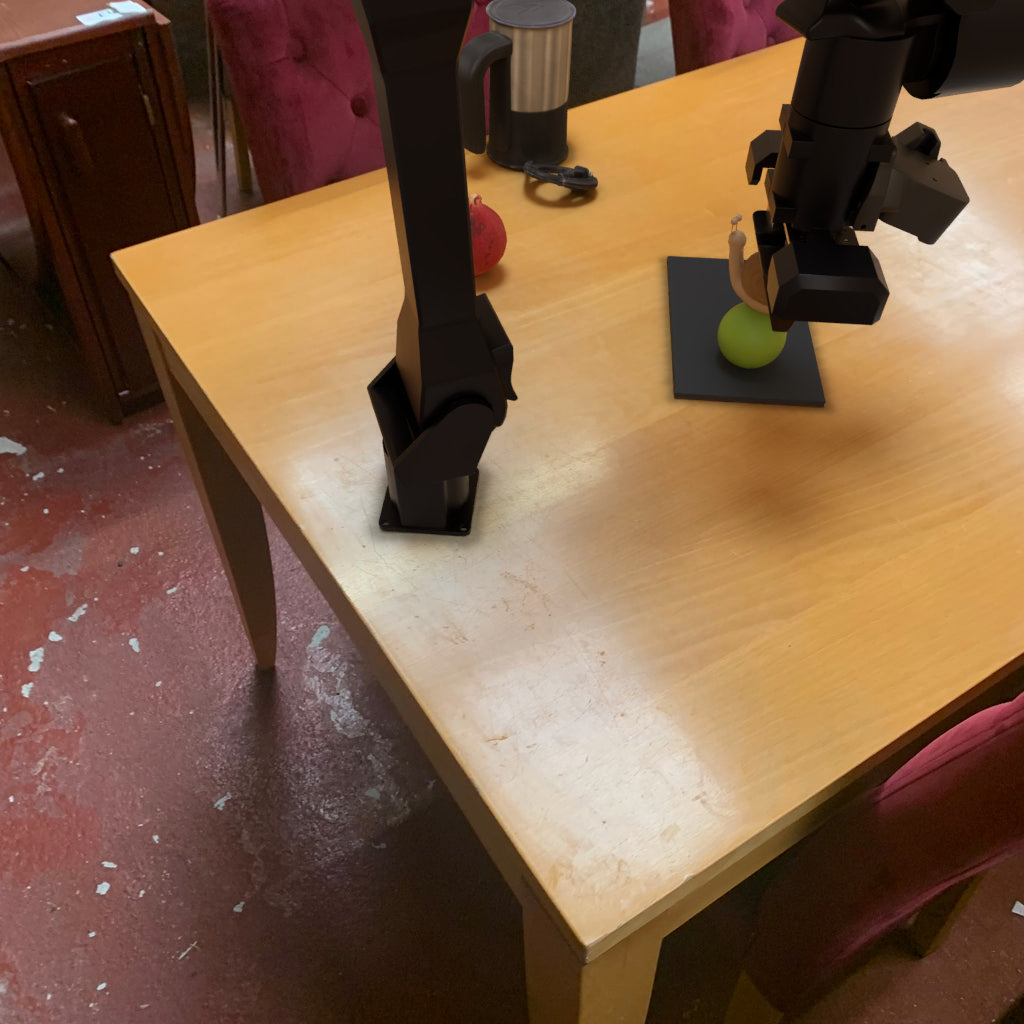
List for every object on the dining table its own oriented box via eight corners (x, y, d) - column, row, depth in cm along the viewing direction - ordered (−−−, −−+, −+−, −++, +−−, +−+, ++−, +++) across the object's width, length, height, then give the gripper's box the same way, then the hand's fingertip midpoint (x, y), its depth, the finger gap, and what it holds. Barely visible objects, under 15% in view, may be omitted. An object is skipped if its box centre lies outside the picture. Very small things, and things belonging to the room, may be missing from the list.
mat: (824, 407, 72) (826, 401, 71) (673, 398, 72) (675, 392, 72) (793, 267, 85) (794, 262, 84) (666, 261, 85) (667, 255, 85)
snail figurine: (724, 328, 77) (752, 201, 68) (790, 359, 75) (828, 230, 66) (689, 358, 75) (714, 229, 66) (757, 391, 72) (792, 261, 63)
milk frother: (514, 125, 104) (515, -15, 93) (636, 159, 99) (652, 15, 88) (446, 177, 96) (438, 30, 85) (575, 217, 91) (585, 66, 80)
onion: (499, 296, 82) (498, 216, 76) (438, 288, 82) (433, 209, 76) (512, 261, 85) (512, 182, 79) (453, 254, 86) (449, 176, 80)
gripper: (1034, 196, 45) (924, 426, 56) (946, 47, 57) (871, 261, 69) (809, 185, 45) (746, 415, 57) (770, 40, 58) (725, 253, 69)
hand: (779, 328), depth 63 cm, fingers closed
